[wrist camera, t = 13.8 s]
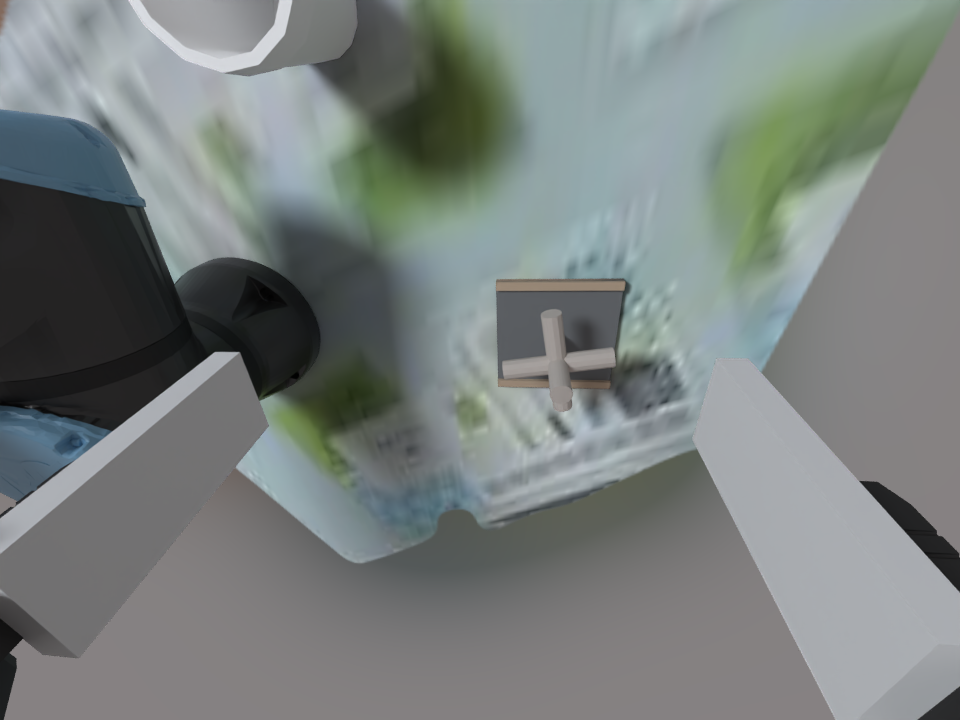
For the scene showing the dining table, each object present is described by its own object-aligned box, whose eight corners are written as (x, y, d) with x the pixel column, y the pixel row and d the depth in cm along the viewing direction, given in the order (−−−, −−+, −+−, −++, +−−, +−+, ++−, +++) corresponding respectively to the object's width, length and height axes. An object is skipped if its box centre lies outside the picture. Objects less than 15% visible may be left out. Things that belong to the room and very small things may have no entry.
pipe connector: (606, 372, 43) (626, 435, 35) (513, 382, 45) (510, 445, 37) (601, 283, 38) (623, 332, 30) (497, 299, 40) (490, 349, 32)
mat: (498, 381, 46) (498, 386, 45) (496, 279, 40) (495, 283, 39) (608, 383, 45) (609, 388, 44) (623, 278, 39) (625, 282, 38)
